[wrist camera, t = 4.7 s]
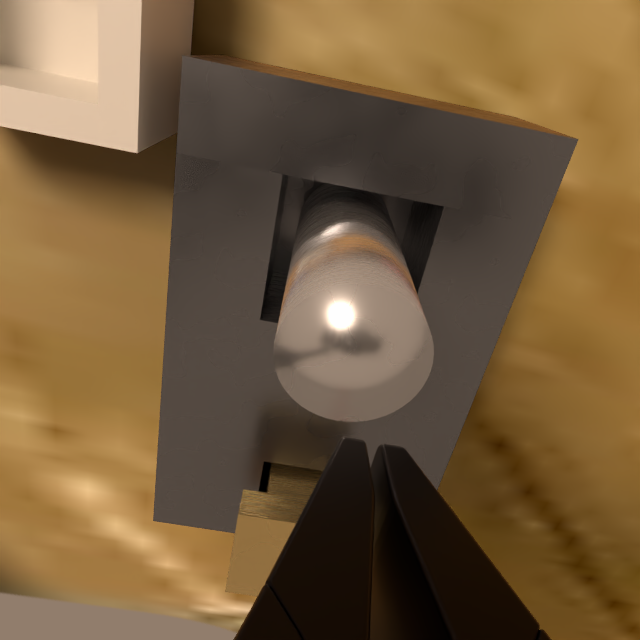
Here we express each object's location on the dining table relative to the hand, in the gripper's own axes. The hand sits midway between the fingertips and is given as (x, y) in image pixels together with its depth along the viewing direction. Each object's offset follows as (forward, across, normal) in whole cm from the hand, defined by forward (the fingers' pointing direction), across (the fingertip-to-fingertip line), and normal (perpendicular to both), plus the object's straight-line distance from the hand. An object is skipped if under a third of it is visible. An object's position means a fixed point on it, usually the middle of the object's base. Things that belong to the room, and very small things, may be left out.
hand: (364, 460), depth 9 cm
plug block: (+11, 0, +8) cm, 14 cm away
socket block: (+12, 0, +3) cm, 13 cm away
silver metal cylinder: (+11, 0, 0) cm, 11 cm away
